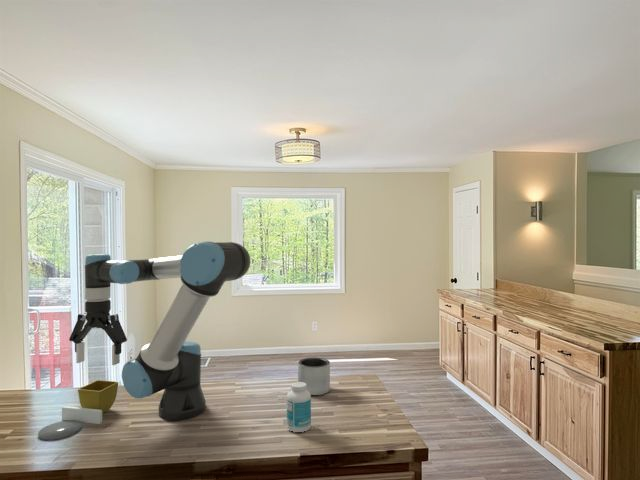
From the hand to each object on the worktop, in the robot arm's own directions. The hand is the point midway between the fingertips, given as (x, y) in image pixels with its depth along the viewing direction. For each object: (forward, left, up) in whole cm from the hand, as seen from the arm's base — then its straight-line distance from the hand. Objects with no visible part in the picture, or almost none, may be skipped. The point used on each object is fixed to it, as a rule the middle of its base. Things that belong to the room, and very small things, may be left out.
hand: (98, 363), depth 131 cm
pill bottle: (-69, -3, -17) cm, 71 cm away
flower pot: (0, 0, -17) cm, 17 cm away
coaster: (+1, +14, -17) cm, 21 cm away
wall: (0, +7, -17) cm, 18 cm away
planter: (-67, -34, -17) cm, 77 cm away
